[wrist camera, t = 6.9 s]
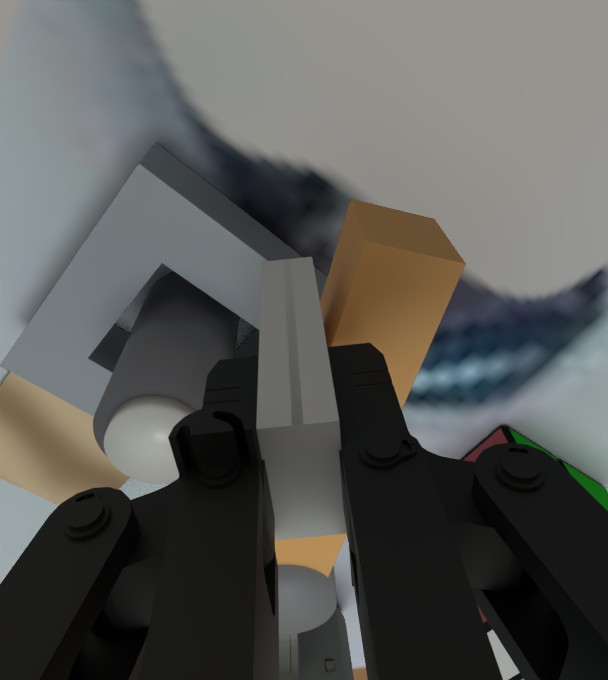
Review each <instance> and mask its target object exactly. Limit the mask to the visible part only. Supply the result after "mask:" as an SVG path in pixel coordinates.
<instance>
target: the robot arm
mask: <svg viewBox="0 0 608 680" xmlns="http://www.w3.org/2000/svg"><path fill="white" fill-rule="evenodd" d="M168 439H169V442H170V446H171V449H172V452H173V456H174V459H175V462H176V466H177V469H178V472H179V478H178V479H177V480H175V481H174V482H172V483H171V484H169V485H168V486H166V487H164V488H161V489H159V490H157V491H155V492H152V493H149V494H146V495H144V496H141V497H138V498H135V499H133V500H130V499H129V498H128V497H127V496H126V495H125V494H124V493H123V492H122V491H121V490H118V489H114V488H111V487H99V488H91V489H88V490H86V491H83V492H80V493H77V494H75V495H74V496H72V497H70V498H69V499H67V500H66V501H64V502H62V503H61V504H60V505H59V506H58V507H57V508H56V509H55V510H54V511H53V513H52V514H51V515H50V516H49V517H48V518H47V520H46V521H45V523H44V524H43V525H42V527H41V528H40V530H39V531H38V532H37V534H36V535H35V537H34V538H33V539H32V541H31V542H30V544H29V545H28V546H27V548H26V549H25V551H24V552H23V553H22V555H21V556H20V558H19V559H18V560H17V562H16V563H15V565H14V566H13V567H12V569H11V570H10V572H9V573H8V574H7V576H6V577H5V578H4V580H3V581H2V583H1V584H0V680H279V597H278V564H277V558H276V553H275V535H276V540H285V539H295V538H305V537H316V536H326V535H335V534H345V533H347V537H348V542H349V550H350V564H351V577H352V586H354V589H355V596H356V602H357V609H358V616H359V623H360V629H361V636H362V643H363V650H364V657H365V663H366V670H367V677H368V680H503V678H502V675H501V672H500V669H499V666H498V663H497V661H496V658H495V655H494V652H493V649H492V646H491V643H490V640H489V638H488V635H487V632H486V629H485V626H484V623H483V620H482V617H481V614H480V612H479V609H478V607H479V608H480V610H481V611H482V613H483V615H484V616H485V618H486V619H487V621H488V623H489V624H490V626H491V627H492V629H493V631H494V632H495V634H496V635H497V637H498V639H499V640H500V642H501V643H502V645H503V647H504V648H505V650H506V651H507V653H508V655H509V656H510V658H511V659H512V661H513V663H514V664H515V666H516V667H517V669H518V671H519V672H520V674H521V675H522V677H523V679H524V680H608V511H607V510H606V509H605V508H604V507H603V506H602V505H601V504H600V503H599V502H598V501H597V500H596V499H595V498H594V497H593V496H592V495H591V494H590V493H589V492H588V491H587V490H586V489H585V488H584V487H583V486H582V485H581V484H580V483H579V482H578V481H577V480H576V479H575V478H574V477H573V476H572V475H571V474H570V473H569V472H568V471H567V470H566V469H565V468H564V467H563V466H562V465H561V464H560V463H559V462H558V461H557V460H555V459H554V458H552V457H551V456H550V455H548V454H547V453H546V452H544V451H542V450H540V449H537V448H534V447H532V446H529V445H526V444H518V443H503V444H495V445H493V446H491V447H489V448H487V449H485V450H483V451H482V452H481V453H480V455H479V456H478V457H477V459H476V460H475V462H471V461H464V460H457V459H451V458H446V457H442V456H438V455H436V454H433V453H431V452H429V451H427V450H425V449H424V448H422V447H421V445H420V444H419V442H418V441H417V439H416V438H414V437H413V436H411V435H410V433H409V431H408V429H407V426H406V423H405V420H404V417H403V413H402V410H401V407H400V404H399V401H398V398H397V395H396V392H395V389H394V386H393V384H392V379H391V376H390V373H389V371H388V367H387V364H386V361H385V358H384V354H382V353H381V352H380V351H379V350H378V349H377V348H376V347H374V346H373V345H372V344H371V343H361V344H351V345H342V346H332V347H327V343H326V337H325V331H324V325H323V319H322V313H321V307H320V301H319V295H318V289H317V283H316V277H315V271H314V265H313V259H312V257H304V258H295V259H284V260H275V261H266V262H262V274H261V304H260V333H259V356H251V357H242V358H232V359H223V360H219V361H218V362H217V363H216V364H215V366H214V367H213V368H212V370H211V371H210V372H209V373H208V375H207V380H206V386H205V393H204V398H203V406H202V409H200V410H197V411H195V412H193V413H191V414H189V415H187V416H185V417H184V418H183V419H181V420H180V421H179V422H178V423H177V424H176V425H175V426H174V427H173V429H172V431H171V433H170V435H169V437H168ZM477 605H478V606H477Z"/></svg>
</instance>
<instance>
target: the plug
mask: <svg viewBox="0 0 608 680" xmlns="http://www.w3.org/2000/svg"><path fill="white" fill-rule="evenodd" d="M238 323H239V316H238V315H237V314H235V313H234V312H232V311H231V310H229V309H228V308H227V307H225V306H224V305H222V304H221V303H219V302H218V301H216V300H215V299H213V298H212V297H211V296H209V295H208V294H206V293H205V292H203V291H202V290H200V289H199V288H198V287H196V286H195V285H193V284H192V283H190V282H189V281H187V280H186V279H184V278H183V277H182V276H180V275H179V274H177V273H176V272H174V273H170V274H168V275H166V276H164V277H162V278H161V279H159V280H158V281H157V282H156V283H155V284H154V285H153V286H152V288H151V289H150V291H149V293H148V295H147V297H146V299H145V302H144V304H143V306H142V308H141V311H140V313H139V315H138V317H137V320H136V322H135V324H134V326H133V329H132V331H131V333H130V335H129V338H128V340H127V342H126V344H125V347H124V349H123V351H122V353H121V356H120V358H119V360H118V362H117V365H116V367H115V369H114V371H113V374H112V376H111V378H110V380H109V383H108V385H107V387H106V389H105V392H104V394H103V396H102V398H101V401H100V403H99V405H98V407H97V410H96V412H95V415H94V419H93V433H94V436H95V439H96V442H97V444H98V446H99V447H100V449H101V450H102V452H103V453H104V454H105V455H106V456H107V457H108V459H109V460H110V462H111V463H112V464H113V465H114V466H115V467H116V468H117V469H118V470H119V471H121V472H122V473H123V474H125V475H127V476H129V477H131V478H133V479H136V480H139V481H142V482H146V483H153V484H167V483H172V482H174V481H175V480H177V479H178V478H179V472H178V469H177V466H176V462H175V459H174V456H173V452H172V449H171V446H170V442H169V439H168V437H169V435H170V433H171V431H172V429H173V427H174V426H175V425H176V424H177V423H178V422H179V421H180V420H181V419H183V418H184V417H185V416H187V415H189V414H191V413H193V412H195V411H197V410H200V409H202V406H203V398H204V393H205V386H206V380H207V375H208V373H209V372H210V371H211V370H212V368H213V367H214V366H215V364H216V363H217V362H218V361H219V360H223V359H232V358H234V355H235V347H236V339H237V331H238Z"/></svg>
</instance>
